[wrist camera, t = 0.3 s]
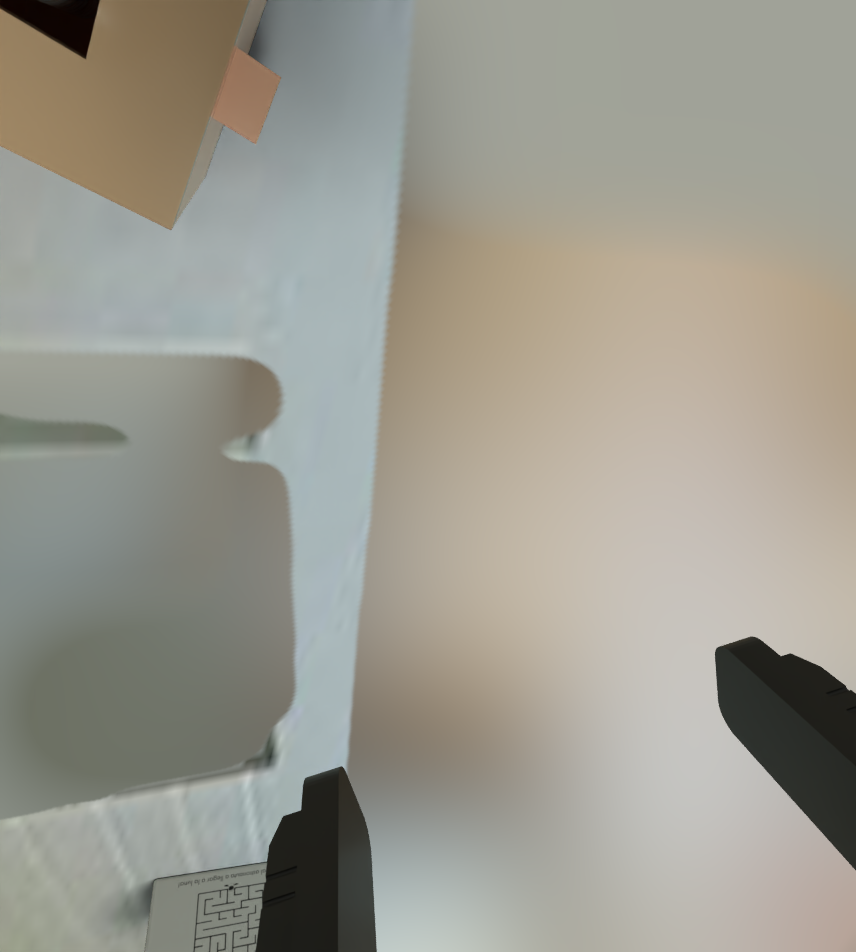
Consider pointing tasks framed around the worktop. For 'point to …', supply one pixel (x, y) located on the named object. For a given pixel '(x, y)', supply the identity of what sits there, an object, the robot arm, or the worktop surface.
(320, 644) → the worktop surface
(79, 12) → the plunger
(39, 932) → the worktop surface
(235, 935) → the cereal box
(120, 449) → the worktop surface
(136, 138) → the beige block
